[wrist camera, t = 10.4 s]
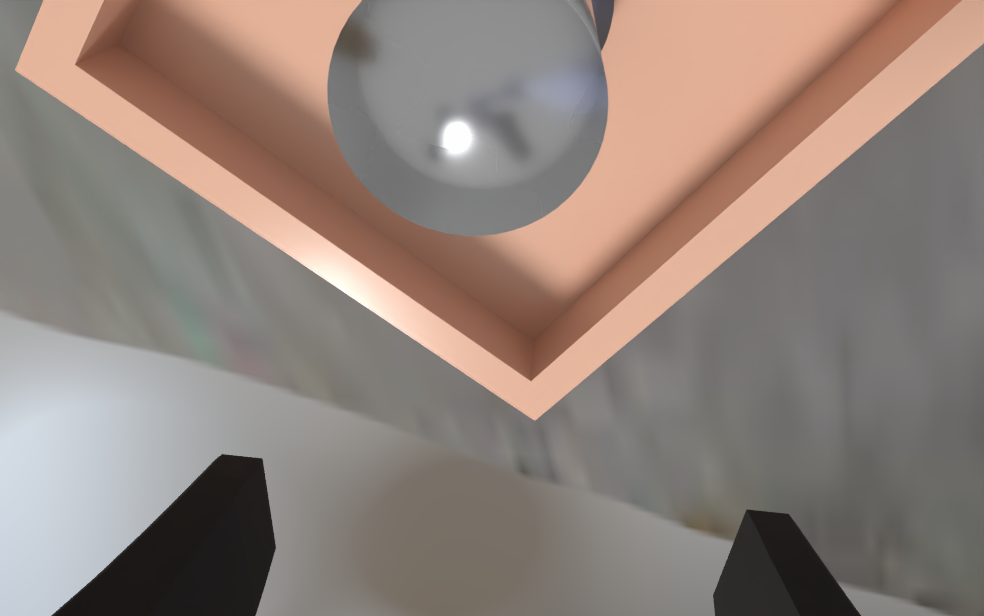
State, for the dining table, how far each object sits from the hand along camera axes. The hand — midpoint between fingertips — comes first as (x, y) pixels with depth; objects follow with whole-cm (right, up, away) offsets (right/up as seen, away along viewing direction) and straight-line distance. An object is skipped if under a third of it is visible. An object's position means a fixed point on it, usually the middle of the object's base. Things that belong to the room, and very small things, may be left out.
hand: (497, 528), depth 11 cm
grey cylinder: (0, +10, +5) cm, 11 cm away
